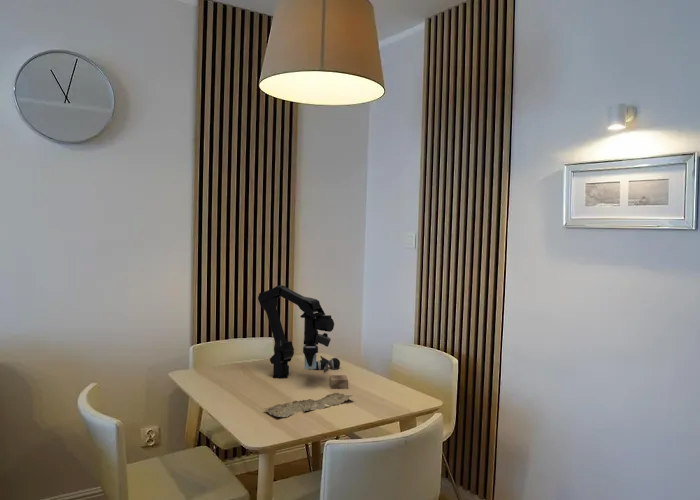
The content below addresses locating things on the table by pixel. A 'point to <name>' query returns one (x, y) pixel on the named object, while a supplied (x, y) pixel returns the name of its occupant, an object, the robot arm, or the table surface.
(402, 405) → the table surface
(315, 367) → the cube
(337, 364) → the toy
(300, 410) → the rock fragment
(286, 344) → the robot arm
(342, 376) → the base block
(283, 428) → the table surface
